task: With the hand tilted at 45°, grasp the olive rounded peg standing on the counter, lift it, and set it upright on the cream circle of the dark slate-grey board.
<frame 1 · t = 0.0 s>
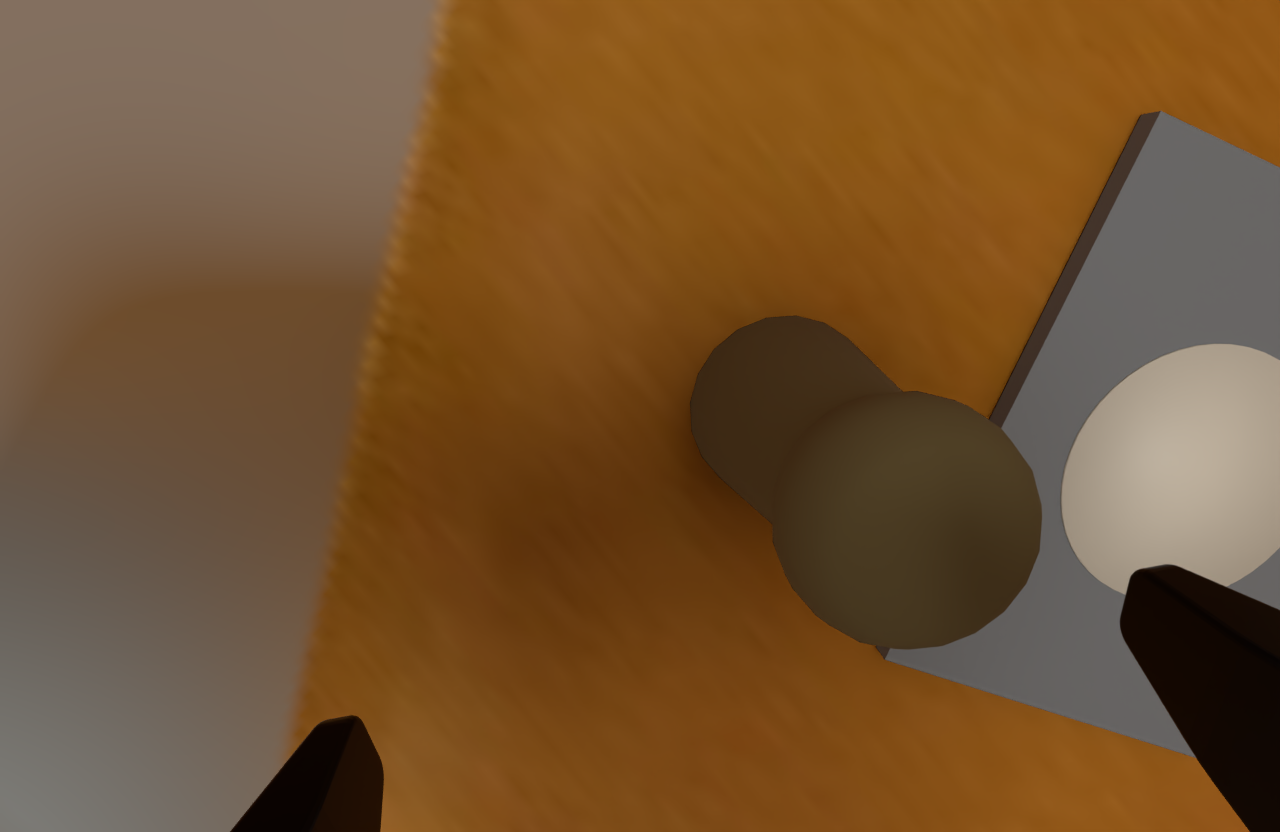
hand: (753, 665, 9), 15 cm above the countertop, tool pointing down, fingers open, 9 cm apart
target board: (1172, 469, 26), on the countertop
olive rounded peg: (781, 407, 24), on the countertop
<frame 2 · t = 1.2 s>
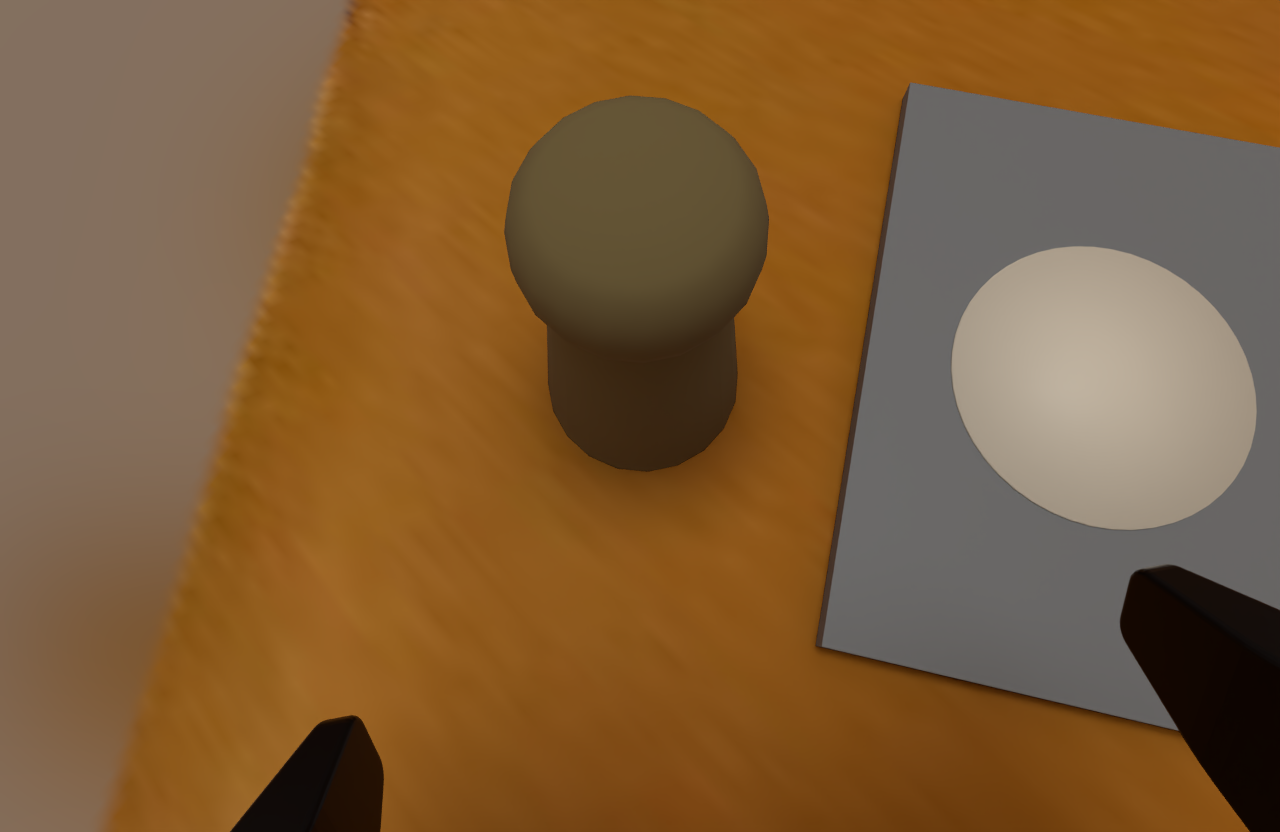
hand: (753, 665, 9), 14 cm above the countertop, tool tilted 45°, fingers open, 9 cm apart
target board: (1085, 389, 23), on the countertop
olive rounded peg: (642, 380, 24), on the countertop
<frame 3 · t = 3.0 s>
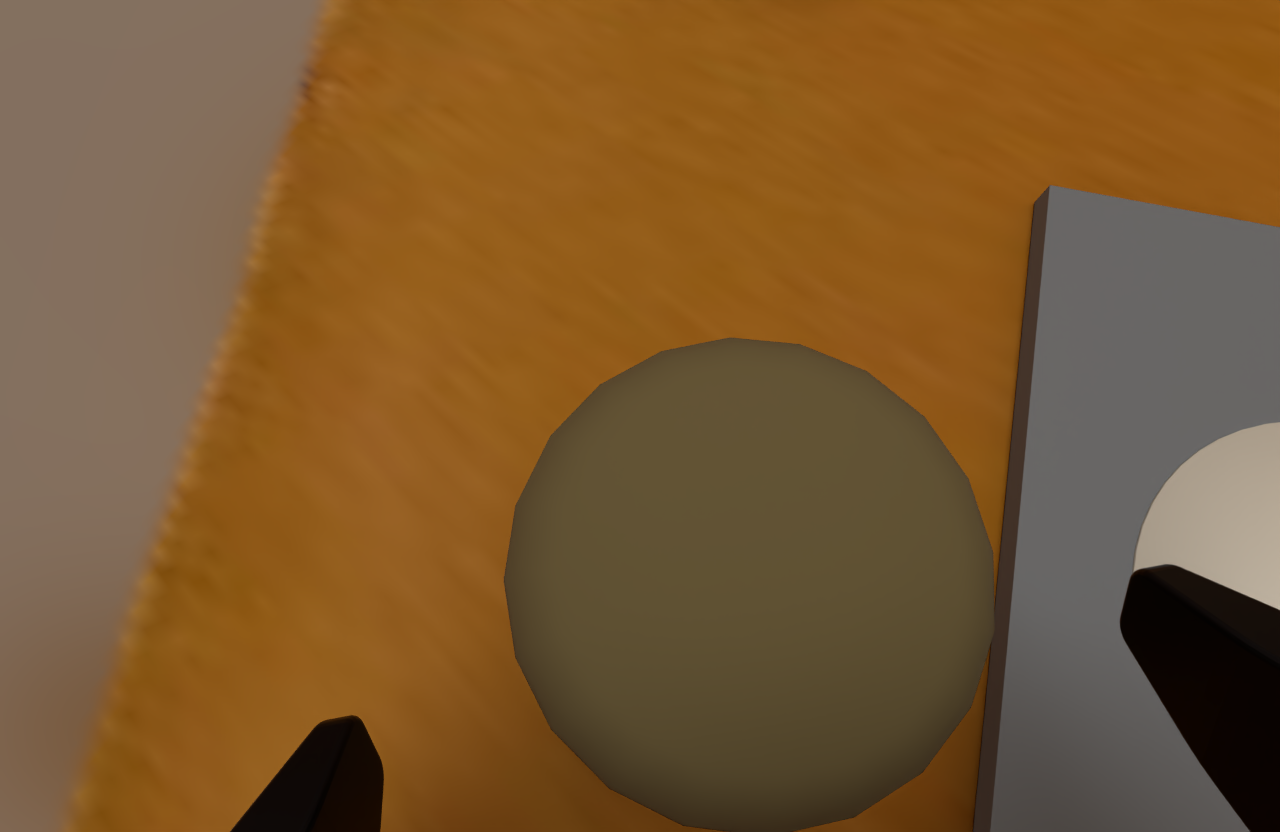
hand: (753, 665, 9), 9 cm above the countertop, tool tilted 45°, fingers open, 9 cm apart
olive rounded peg: (695, 602, 17), on the countertop
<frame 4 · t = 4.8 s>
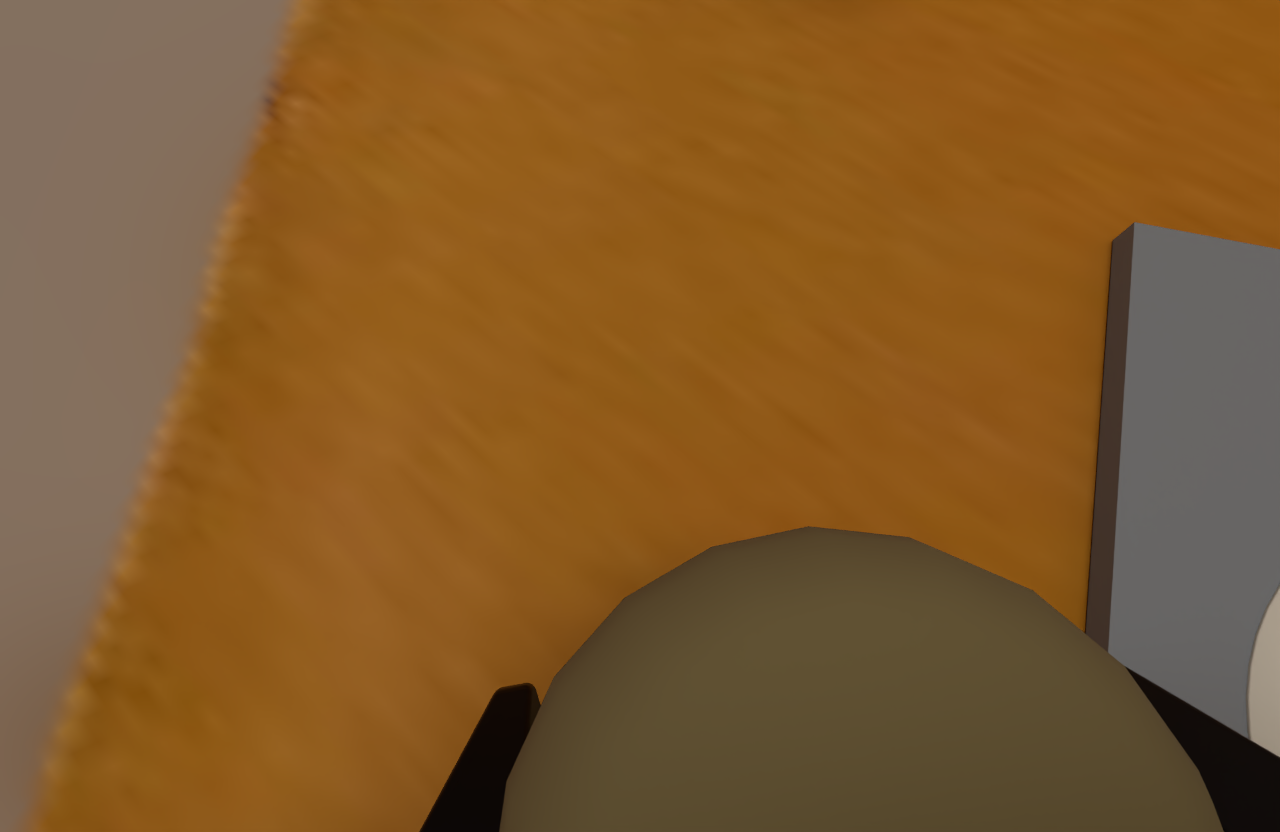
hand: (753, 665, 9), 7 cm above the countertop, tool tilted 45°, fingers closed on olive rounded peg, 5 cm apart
olive rounded peg: (724, 720, 15), on the countertop, touching gripper
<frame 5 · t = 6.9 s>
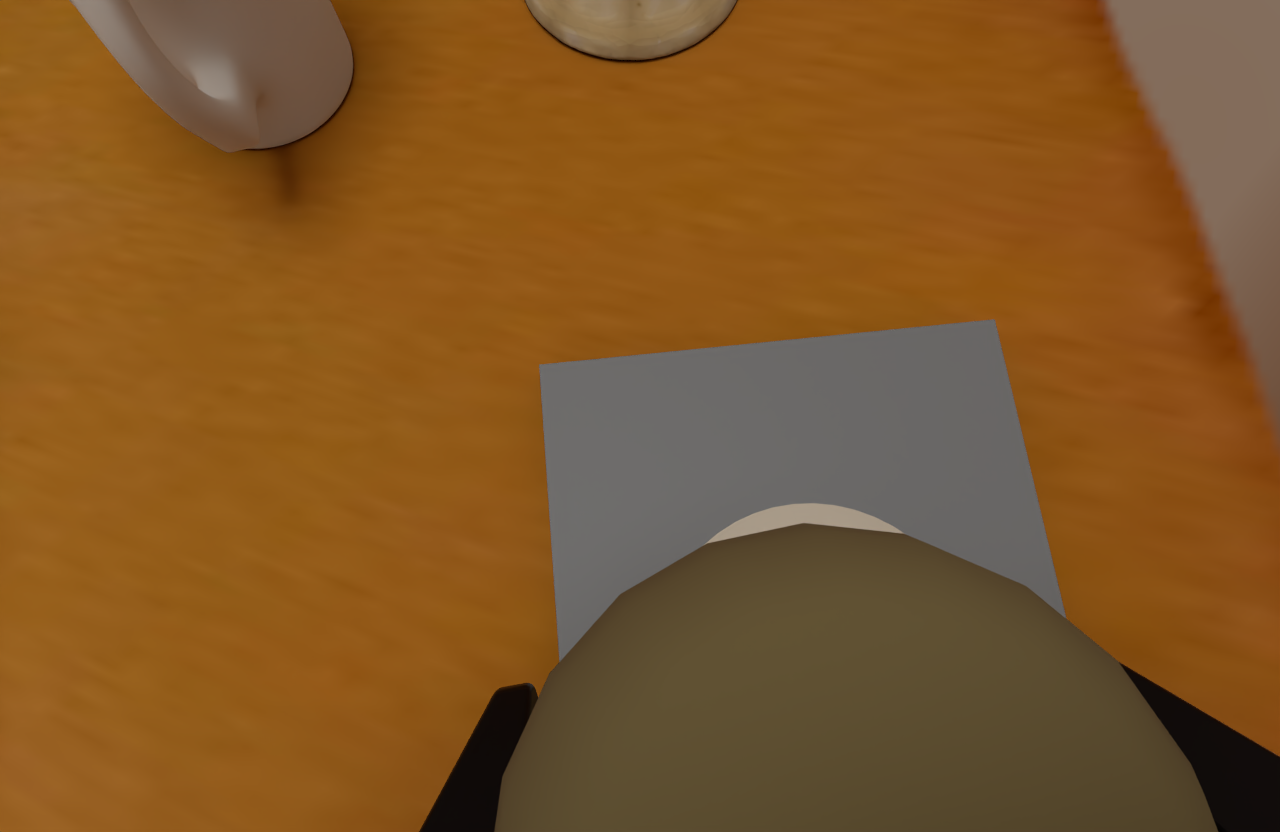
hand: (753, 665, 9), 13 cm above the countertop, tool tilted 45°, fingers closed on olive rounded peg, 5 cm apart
target board: (811, 666, 21), on the countertop
olive rounded peg: (721, 718, 15), point 6 cm above the countertop, touching gripper
mug: (276, 116, 26), on the countertop
when the fingers open (8 cm above the countertop, at t = 9.1 s): olive rounded peg stays where it is, resting on target board.
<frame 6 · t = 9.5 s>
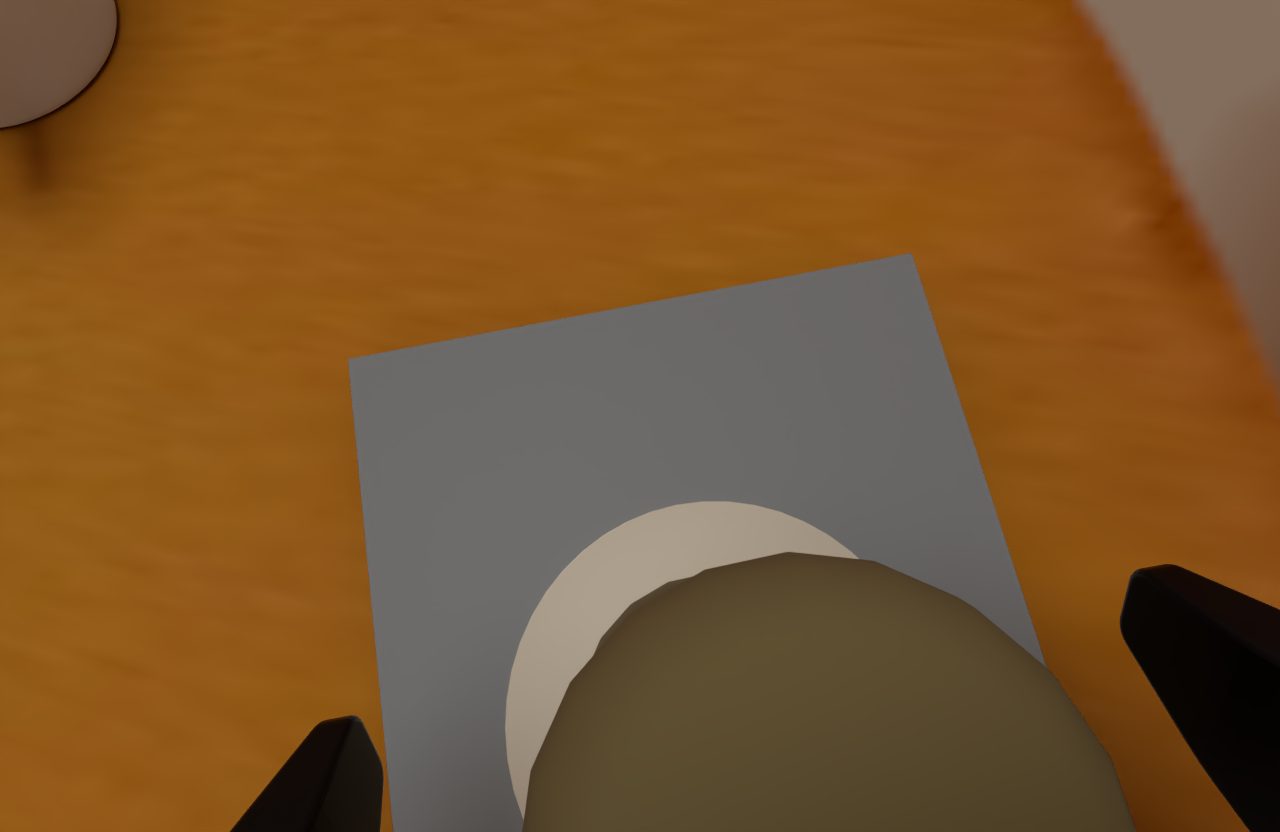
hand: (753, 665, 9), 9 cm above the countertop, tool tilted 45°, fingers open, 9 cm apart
target board: (716, 710, 16), on the countertop
olive rounded peg: (720, 719, 16), point 1 cm above the countertop, touching target board
mug: (25, 89, 21), on the countertop
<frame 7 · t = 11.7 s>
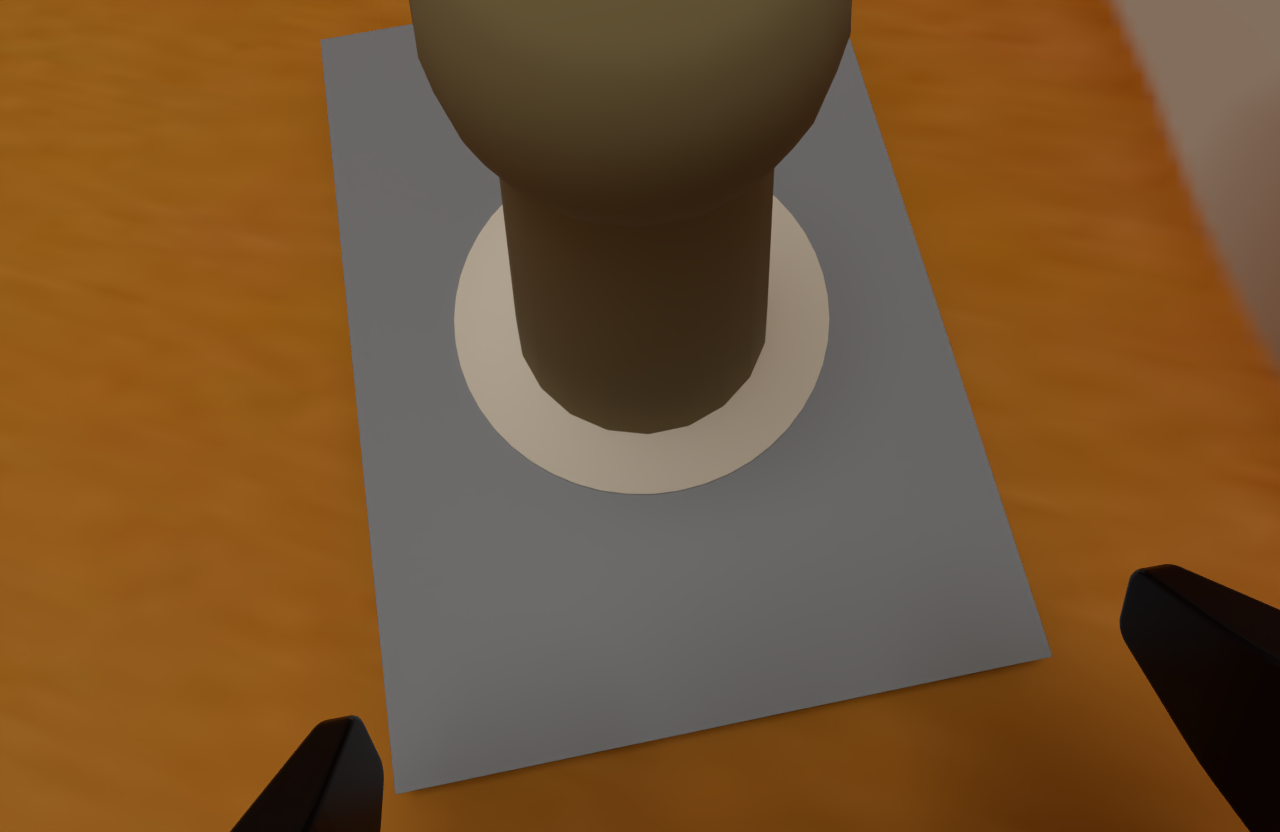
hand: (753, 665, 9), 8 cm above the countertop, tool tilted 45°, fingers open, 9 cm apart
target board: (641, 322, 19), on the countertop
olive rounded peg: (641, 315, 18), point 1 cm above the countertop, touching target board
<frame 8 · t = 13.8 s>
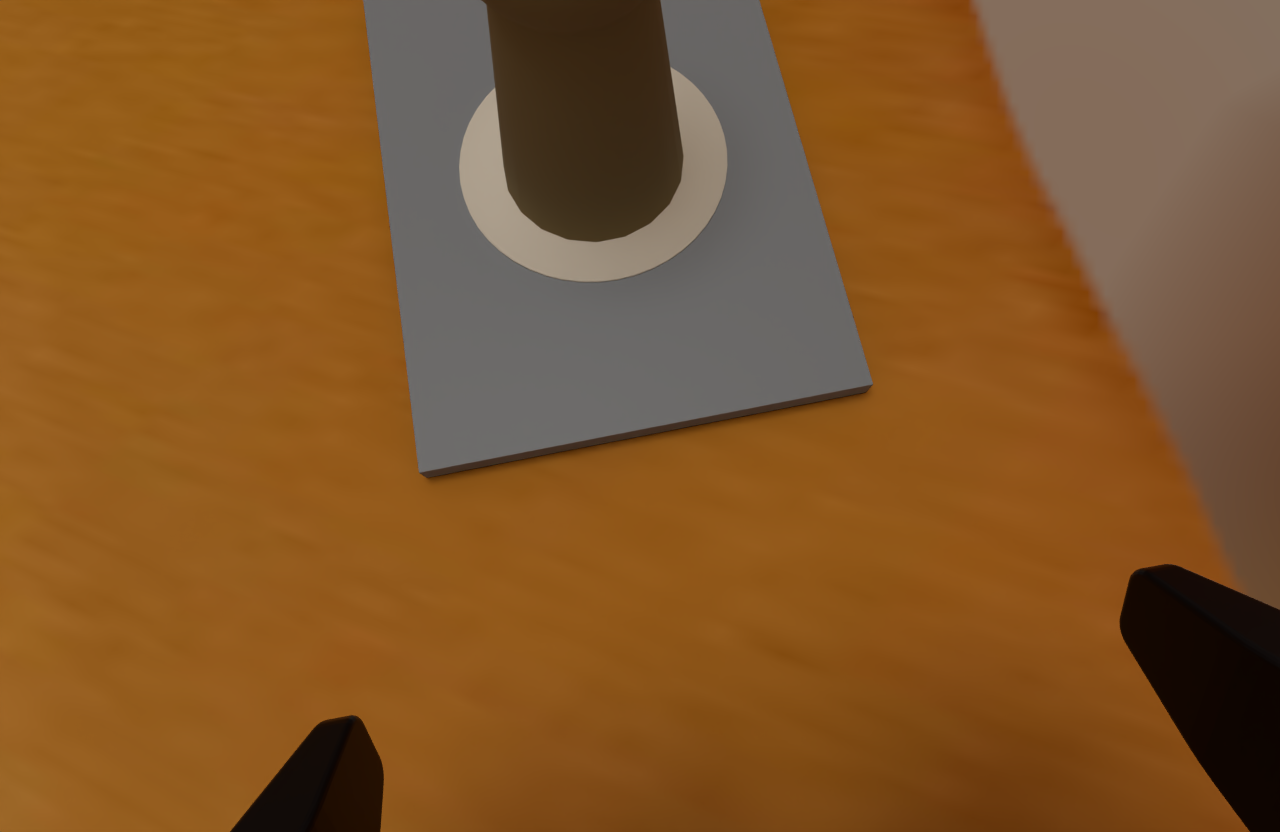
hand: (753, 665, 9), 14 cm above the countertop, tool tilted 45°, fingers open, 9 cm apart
target board: (595, 174, 26), on the countertop
olive rounded peg: (593, 164, 25), point 1 cm above the countertop, touching target board
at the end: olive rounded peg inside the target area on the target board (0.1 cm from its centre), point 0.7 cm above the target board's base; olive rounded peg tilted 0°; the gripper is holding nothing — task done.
